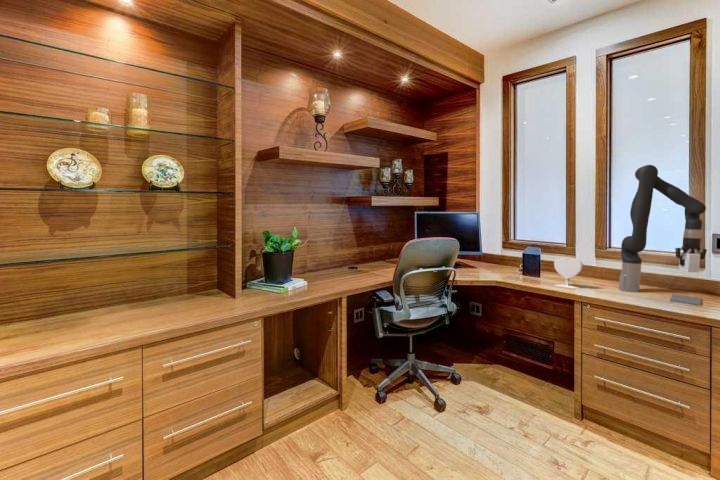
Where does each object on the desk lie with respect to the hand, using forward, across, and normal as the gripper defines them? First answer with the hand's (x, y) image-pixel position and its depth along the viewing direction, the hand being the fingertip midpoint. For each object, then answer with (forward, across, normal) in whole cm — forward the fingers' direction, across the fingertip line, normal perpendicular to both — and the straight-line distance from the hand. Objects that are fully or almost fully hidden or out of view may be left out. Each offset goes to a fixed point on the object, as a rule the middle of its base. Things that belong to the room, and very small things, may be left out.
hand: (689, 265), depth 205 cm
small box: (+3, 0, 0) cm, 3 cm away
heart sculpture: (+18, -61, +2) cm, 64 cm away
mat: (+17, -7, -15) cm, 24 cm away
